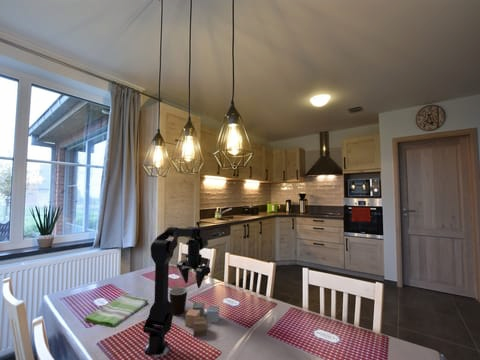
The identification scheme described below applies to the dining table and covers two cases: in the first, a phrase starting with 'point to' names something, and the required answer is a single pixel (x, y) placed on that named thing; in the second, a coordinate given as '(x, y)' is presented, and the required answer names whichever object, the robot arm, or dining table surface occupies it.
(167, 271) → the robot arm
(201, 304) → the grey block
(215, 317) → the grey cube
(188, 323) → the terracotta block
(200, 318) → the walnut block
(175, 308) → the coffee mug
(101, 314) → the dish towel
